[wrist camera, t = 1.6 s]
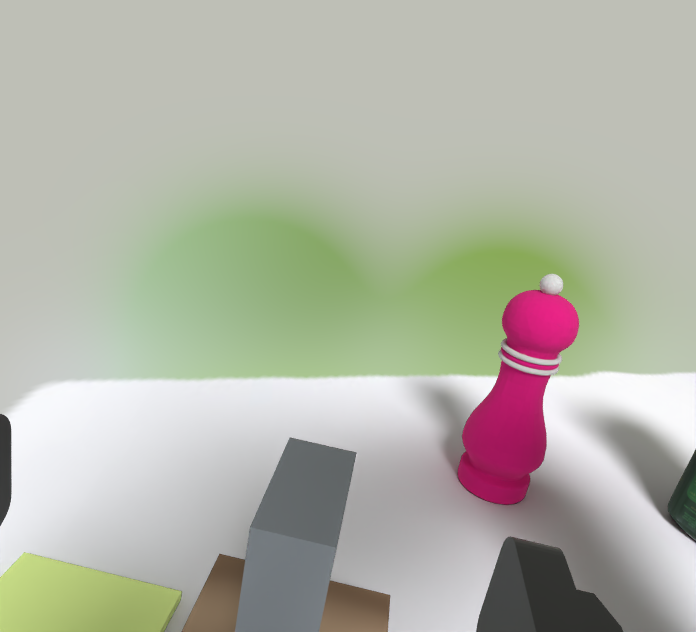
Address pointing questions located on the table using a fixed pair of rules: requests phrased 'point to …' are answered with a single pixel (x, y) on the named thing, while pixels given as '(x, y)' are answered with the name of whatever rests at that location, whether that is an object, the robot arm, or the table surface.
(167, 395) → the table surface
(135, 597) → the green mat
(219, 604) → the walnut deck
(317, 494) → the tall gray post
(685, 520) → the coffee jar
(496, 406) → the pepper mill
